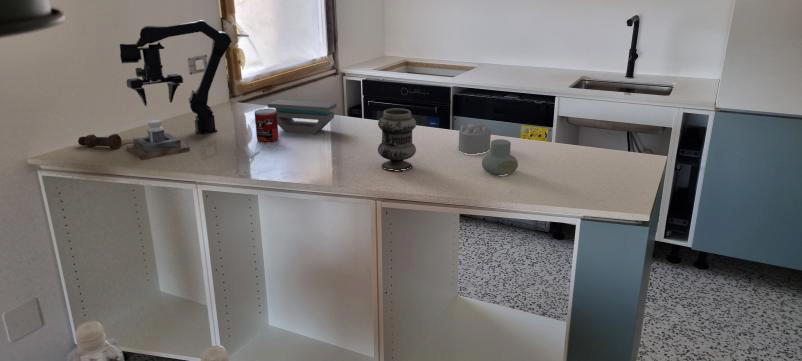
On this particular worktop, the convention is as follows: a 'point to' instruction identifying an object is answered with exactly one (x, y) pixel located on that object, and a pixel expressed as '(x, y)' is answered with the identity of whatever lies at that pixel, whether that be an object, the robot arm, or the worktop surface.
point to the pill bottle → (155, 131)
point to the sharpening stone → (302, 115)
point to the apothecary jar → (397, 138)
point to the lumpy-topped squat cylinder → (474, 138)
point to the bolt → (101, 141)
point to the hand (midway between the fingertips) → (158, 104)
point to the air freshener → (500, 158)
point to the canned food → (266, 125)
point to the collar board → (154, 154)
